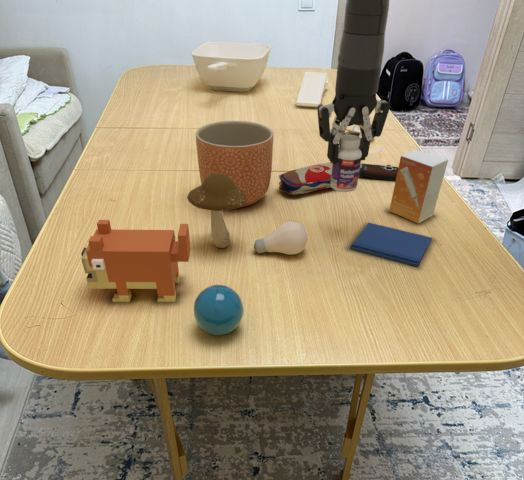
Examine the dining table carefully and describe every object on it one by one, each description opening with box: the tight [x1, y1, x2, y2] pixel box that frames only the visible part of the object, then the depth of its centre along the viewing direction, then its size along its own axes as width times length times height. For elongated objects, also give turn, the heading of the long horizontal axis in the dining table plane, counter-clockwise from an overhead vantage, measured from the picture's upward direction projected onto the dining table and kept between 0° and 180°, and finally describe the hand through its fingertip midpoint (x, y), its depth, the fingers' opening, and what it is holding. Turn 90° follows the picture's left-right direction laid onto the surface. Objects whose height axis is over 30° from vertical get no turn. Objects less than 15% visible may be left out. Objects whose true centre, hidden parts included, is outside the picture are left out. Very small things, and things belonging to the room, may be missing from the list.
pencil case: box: [278, 161, 333, 196], centre depth 121 cm, size 11×20×5 cm, turn 102°
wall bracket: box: [295, 71, 329, 108], centre depth 181 cm, size 10×7×28 cm
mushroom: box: [186, 173, 246, 249], centre depth 95 cm, size 9×11×15 cm
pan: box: [190, 41, 272, 93], centre depth 180 cm, size 27×44×13 cm, turn 170°
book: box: [349, 222, 433, 268], centre depth 102 cm, size 14×12×1 cm
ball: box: [193, 284, 245, 336], centre depth 78 cm, size 8×8×8 cm
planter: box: [195, 120, 274, 208], centre depth 112 cm, size 17×17×15 cm
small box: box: [389, 148, 449, 224], centre depth 108 cm, size 8×6×13 cm
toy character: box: [80, 219, 191, 303], centre depth 84 cm, size 9×18×12 cm, turn 91°
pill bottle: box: [330, 134, 362, 193], centre depth 96 cm, size 5×5×10 cm
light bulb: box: [253, 220, 309, 256], centre depth 97 cm, size 7×7×11 cm
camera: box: [358, 162, 399, 182], centre depth 128 cm, size 6×3×11 cm
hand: (347, 160), depth 96 cm, fingers closed on pill bottle, 5 cm apart
